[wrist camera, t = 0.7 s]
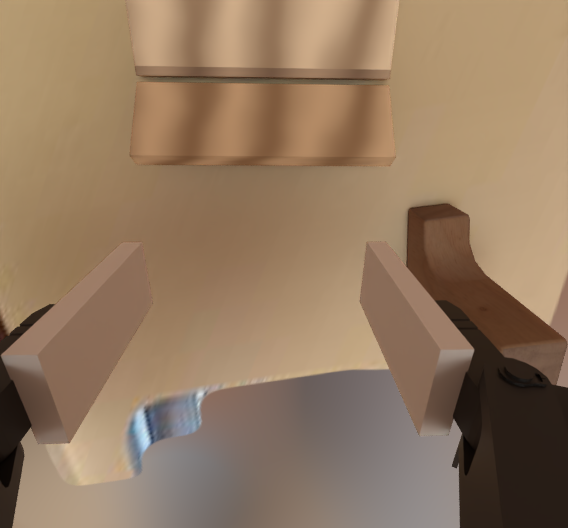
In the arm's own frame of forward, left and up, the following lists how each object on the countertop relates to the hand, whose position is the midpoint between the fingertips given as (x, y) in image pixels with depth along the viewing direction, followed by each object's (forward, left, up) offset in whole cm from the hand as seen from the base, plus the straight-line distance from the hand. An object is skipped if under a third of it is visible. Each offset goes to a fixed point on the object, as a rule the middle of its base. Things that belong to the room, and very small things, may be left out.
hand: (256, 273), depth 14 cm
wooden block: (+18, -8, -24) cm, 31 cm away
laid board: (0, +11, -23) cm, 26 cm away
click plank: (0, +4, -21) cm, 21 cm away
